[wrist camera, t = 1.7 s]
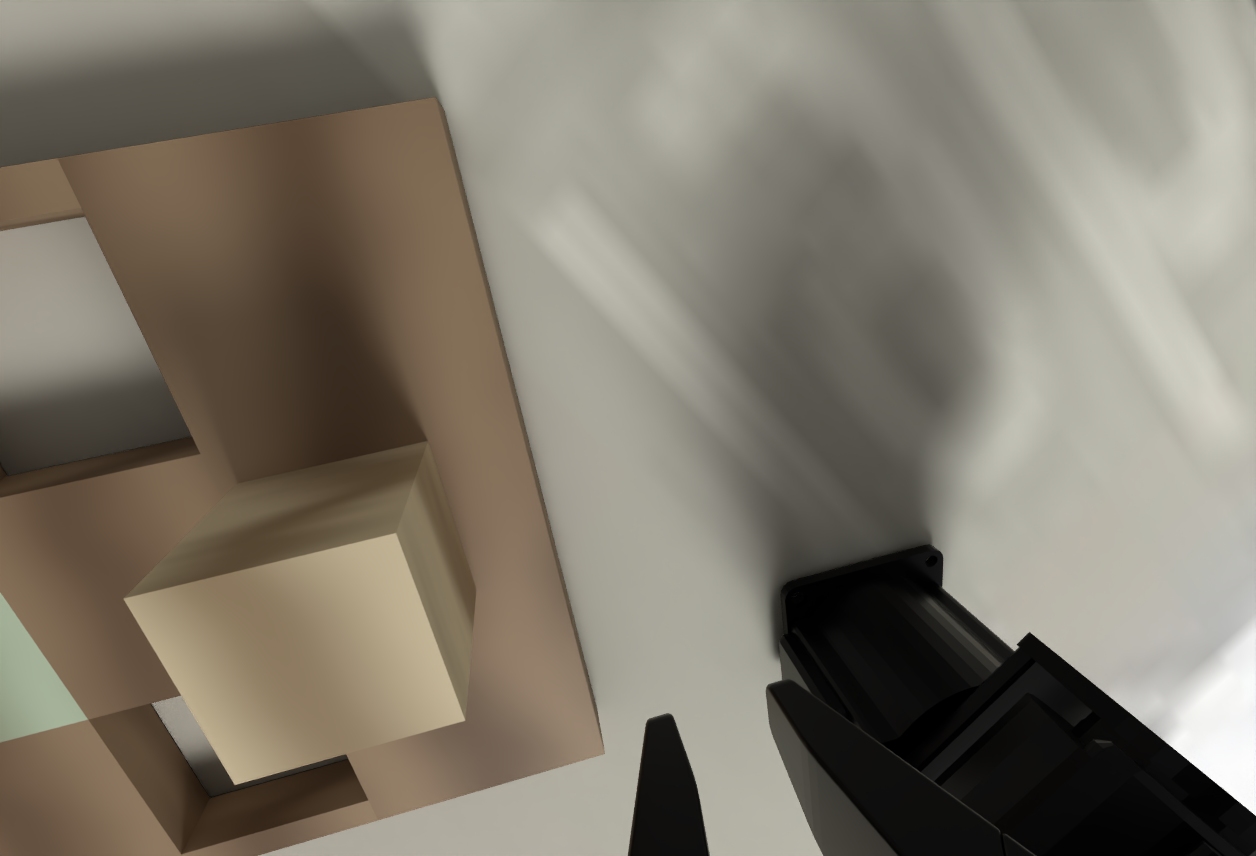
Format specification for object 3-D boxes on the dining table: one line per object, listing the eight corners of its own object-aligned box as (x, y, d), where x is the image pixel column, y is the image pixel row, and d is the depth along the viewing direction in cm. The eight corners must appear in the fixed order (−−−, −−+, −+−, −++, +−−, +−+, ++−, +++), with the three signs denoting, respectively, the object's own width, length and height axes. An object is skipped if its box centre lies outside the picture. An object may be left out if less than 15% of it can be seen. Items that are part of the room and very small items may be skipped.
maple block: (428, 440, 16) (395, 533, 12) (476, 589, 18) (465, 721, 13) (237, 483, 16) (123, 598, 11) (307, 633, 18) (234, 784, 13)
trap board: (444, 110, 15) (435, 97, 14) (597, 710, 23) (604, 753, 21) (-464, 259, 13) (-622, 267, 11) (43, 867, 21) (-2, 931, 19)
